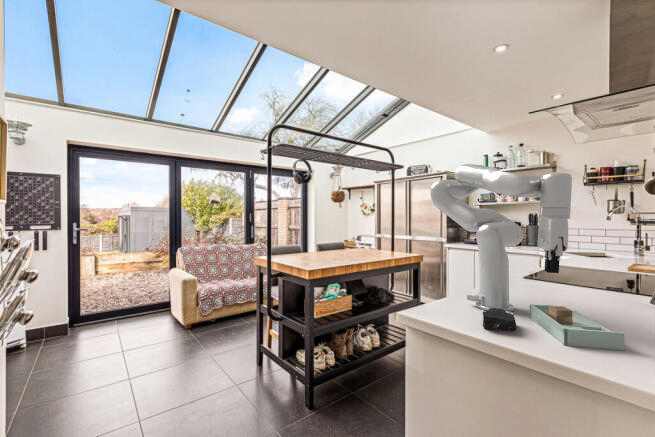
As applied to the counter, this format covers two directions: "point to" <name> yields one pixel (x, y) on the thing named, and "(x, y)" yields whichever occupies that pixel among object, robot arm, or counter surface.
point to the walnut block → (561, 315)
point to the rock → (499, 319)
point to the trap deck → (577, 330)
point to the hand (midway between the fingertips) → (551, 272)
